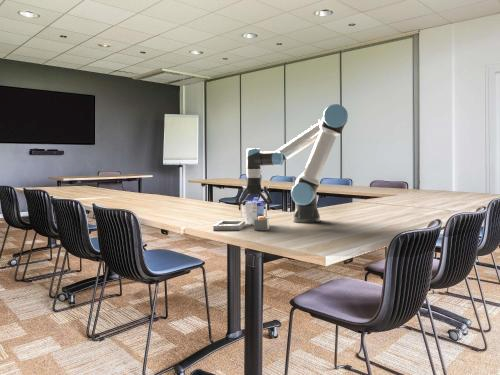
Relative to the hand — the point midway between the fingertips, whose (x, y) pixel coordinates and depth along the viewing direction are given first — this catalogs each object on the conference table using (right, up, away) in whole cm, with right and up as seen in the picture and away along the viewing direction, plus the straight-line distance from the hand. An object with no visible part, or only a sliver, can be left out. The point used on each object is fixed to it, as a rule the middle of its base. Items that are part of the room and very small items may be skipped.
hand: (254, 216), depth 220 cm
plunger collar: (+4, -5, -18) cm, 19 cm away
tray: (-13, -5, -10) cm, 17 cm away
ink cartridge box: (0, -4, 0) cm, 4 cm away
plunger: (+4, -4, -18) cm, 19 cm away
